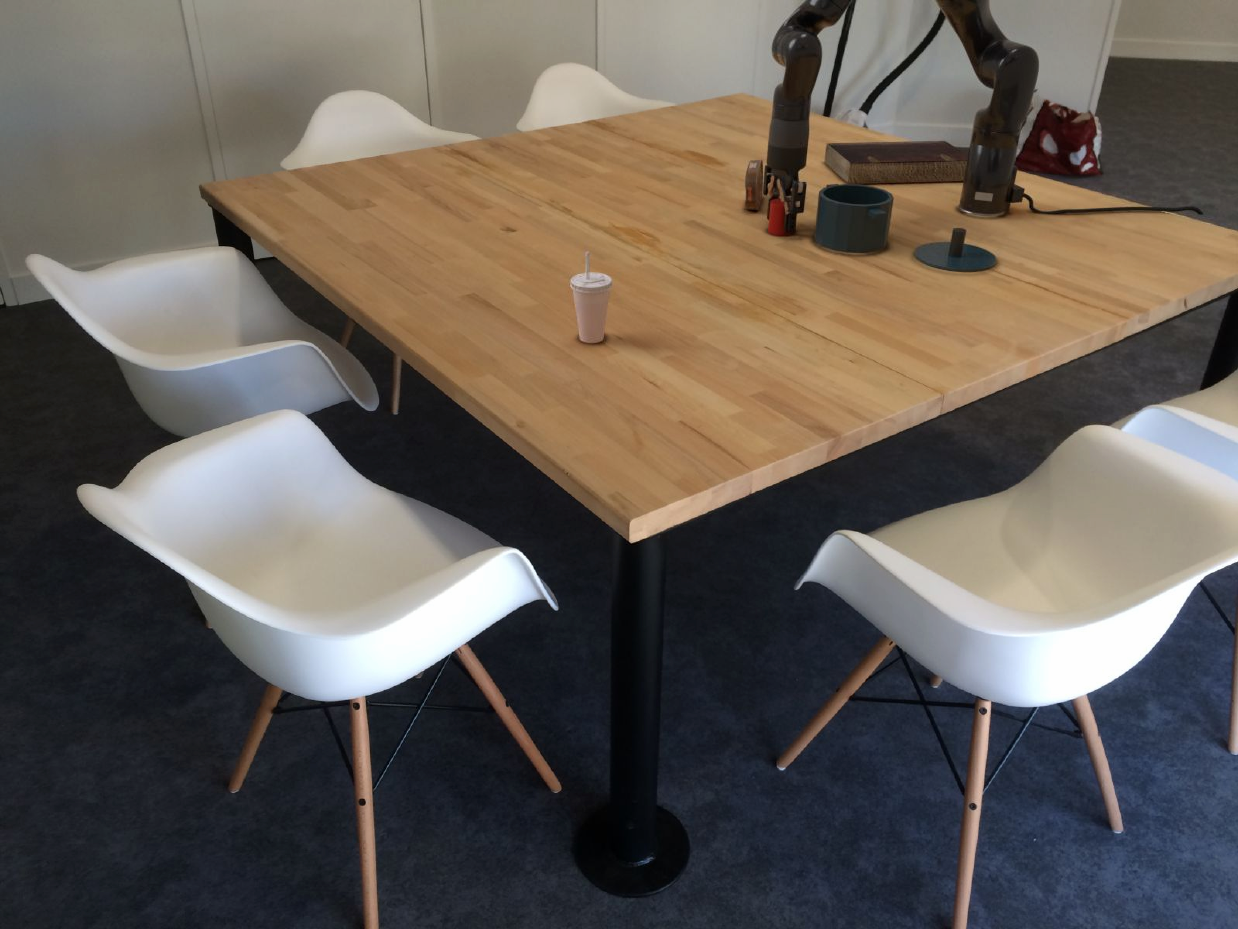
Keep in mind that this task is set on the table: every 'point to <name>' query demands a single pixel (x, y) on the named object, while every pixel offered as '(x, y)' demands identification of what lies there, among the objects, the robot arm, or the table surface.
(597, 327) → the smoothie
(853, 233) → the pot
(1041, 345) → the table surface
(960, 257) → the lid
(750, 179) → the tin
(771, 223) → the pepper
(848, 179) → the hardback book
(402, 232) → the table surface
